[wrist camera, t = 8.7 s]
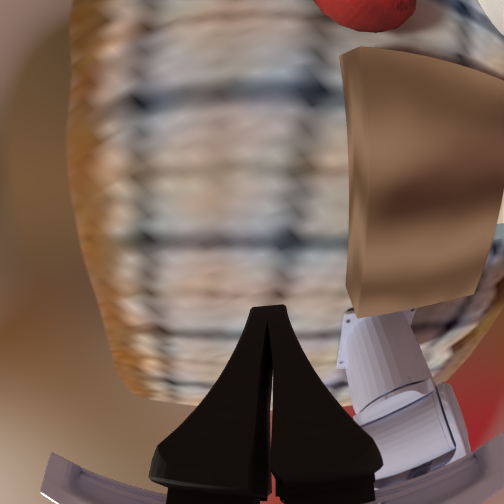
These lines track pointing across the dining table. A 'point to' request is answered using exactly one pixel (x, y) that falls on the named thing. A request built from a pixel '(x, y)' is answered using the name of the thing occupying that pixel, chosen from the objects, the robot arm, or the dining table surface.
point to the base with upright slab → (494, 12)
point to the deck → (419, 177)
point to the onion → (368, 13)
